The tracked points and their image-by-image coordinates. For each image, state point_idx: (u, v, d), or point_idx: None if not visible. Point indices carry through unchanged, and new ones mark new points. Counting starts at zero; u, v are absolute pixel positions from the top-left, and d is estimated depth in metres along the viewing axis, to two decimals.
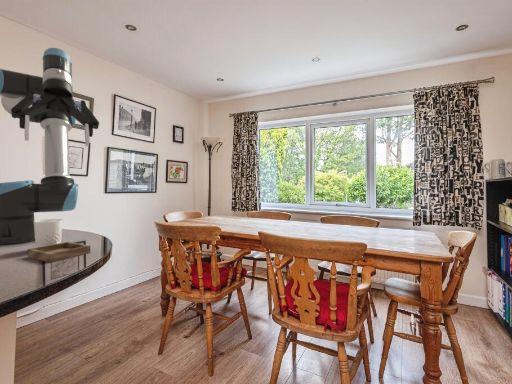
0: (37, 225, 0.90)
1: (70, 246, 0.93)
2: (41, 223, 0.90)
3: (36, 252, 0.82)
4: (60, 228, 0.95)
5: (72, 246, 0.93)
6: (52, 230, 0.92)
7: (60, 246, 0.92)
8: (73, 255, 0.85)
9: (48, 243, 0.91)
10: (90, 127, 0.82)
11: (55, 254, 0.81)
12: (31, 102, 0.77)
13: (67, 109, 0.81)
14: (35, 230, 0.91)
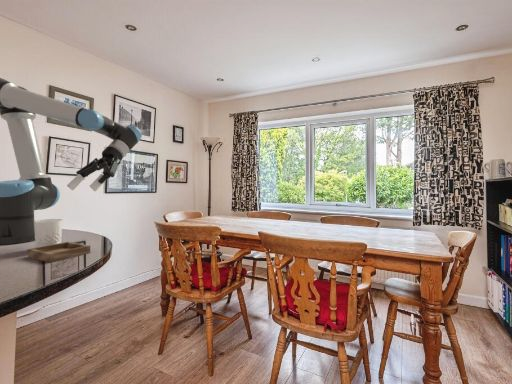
0: (37, 225, 0.90)
1: (70, 246, 0.93)
2: (41, 223, 0.90)
3: (36, 252, 0.82)
4: (60, 228, 0.95)
5: (72, 246, 0.93)
6: (52, 230, 0.92)
7: (60, 246, 0.92)
8: (73, 255, 0.85)
9: (48, 243, 0.91)
10: None
11: (55, 254, 0.81)
12: None
13: None
14: (35, 230, 0.91)
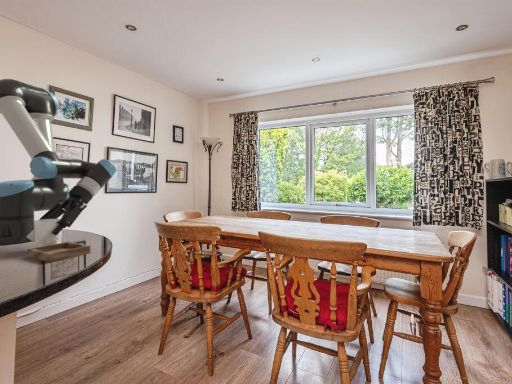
0: (37, 225, 0.90)
1: (70, 246, 0.93)
2: (41, 223, 0.90)
3: (36, 252, 0.82)
4: None
5: (72, 246, 0.93)
6: None
7: (60, 246, 0.92)
8: (73, 255, 0.85)
9: None
10: None
11: (55, 254, 0.81)
12: None
13: None
14: (35, 230, 0.91)
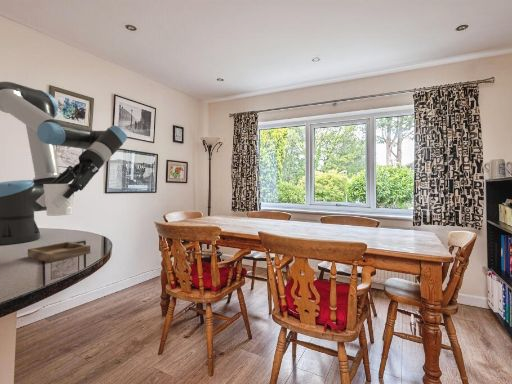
0: (47, 187, 0.84)
1: (70, 246, 0.93)
2: (52, 185, 0.84)
3: (36, 252, 0.82)
4: None
5: (72, 246, 0.93)
6: None
7: (60, 246, 0.92)
8: (73, 255, 0.85)
9: None
10: None
11: (55, 254, 0.81)
12: None
13: None
14: (45, 193, 0.85)
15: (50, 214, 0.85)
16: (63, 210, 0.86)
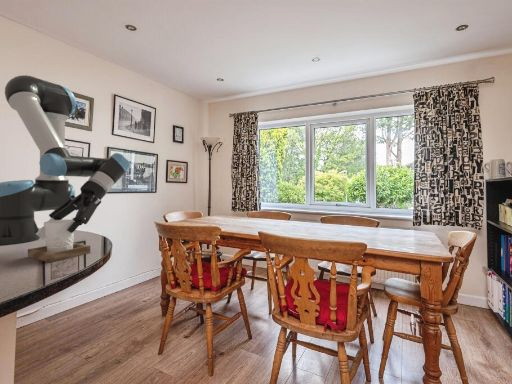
0: (47, 226, 0.83)
1: None
2: (52, 224, 0.83)
3: (36, 252, 0.82)
4: None
5: None
6: None
7: None
8: (73, 255, 0.85)
9: (60, 246, 0.85)
10: None
11: (55, 254, 0.81)
12: None
13: None
14: (46, 232, 0.84)
15: None
16: (63, 249, 0.85)
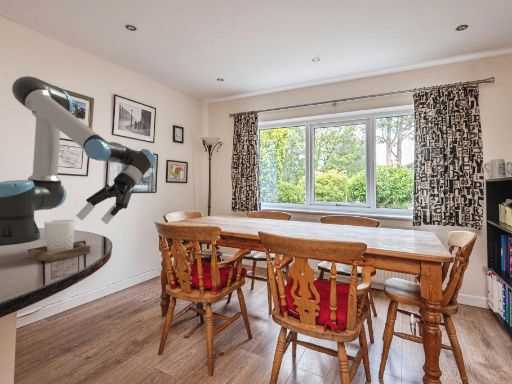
0: (48, 226, 0.83)
1: None
2: (53, 224, 0.83)
3: (36, 252, 0.82)
4: (72, 230, 0.88)
5: None
6: (65, 232, 0.85)
7: None
8: (73, 255, 0.85)
9: (60, 246, 0.85)
10: None
11: (55, 254, 0.81)
12: None
13: None
14: (46, 232, 0.84)
15: None
16: (63, 249, 0.85)
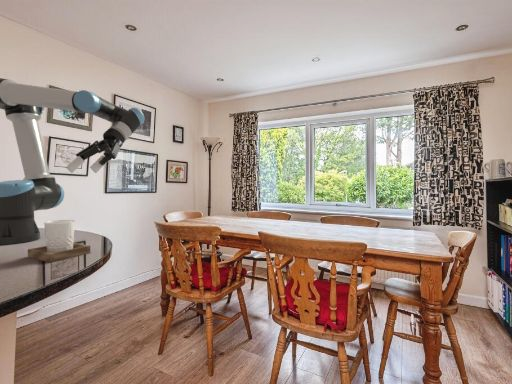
0: (48, 226, 0.83)
1: None
2: (53, 224, 0.83)
3: (36, 252, 0.82)
4: (72, 230, 0.88)
5: None
6: (65, 232, 0.85)
7: None
8: (73, 255, 0.85)
9: (60, 246, 0.85)
10: None
11: (55, 254, 0.81)
12: None
13: None
14: (46, 232, 0.84)
15: None
16: (63, 249, 0.85)
